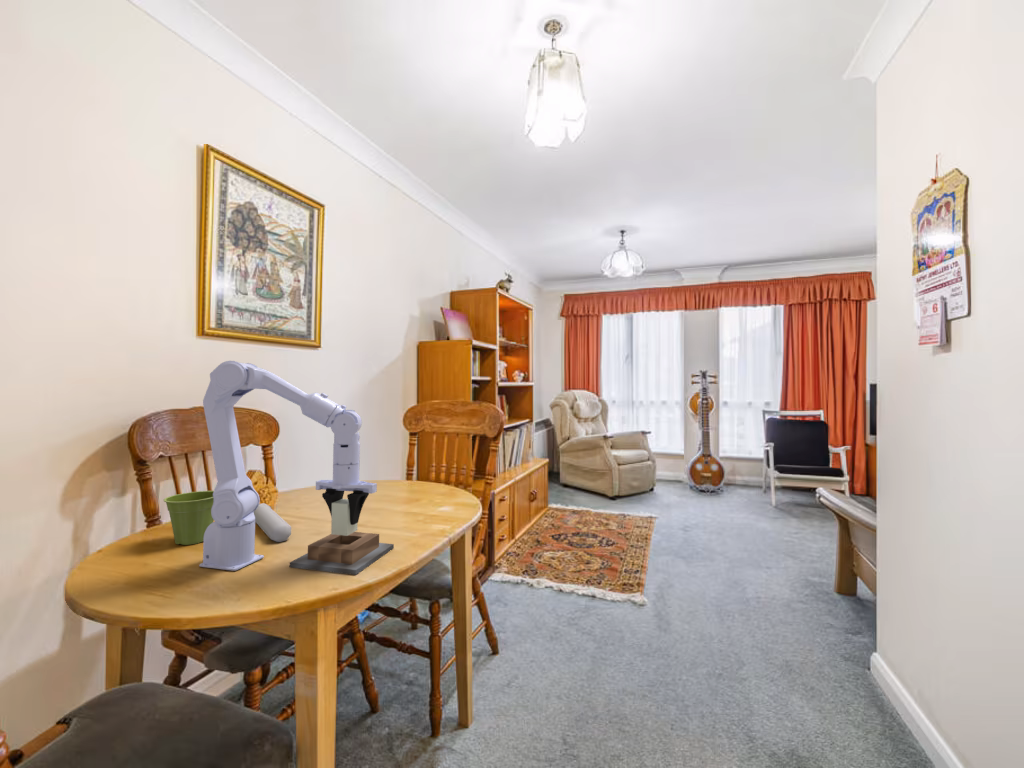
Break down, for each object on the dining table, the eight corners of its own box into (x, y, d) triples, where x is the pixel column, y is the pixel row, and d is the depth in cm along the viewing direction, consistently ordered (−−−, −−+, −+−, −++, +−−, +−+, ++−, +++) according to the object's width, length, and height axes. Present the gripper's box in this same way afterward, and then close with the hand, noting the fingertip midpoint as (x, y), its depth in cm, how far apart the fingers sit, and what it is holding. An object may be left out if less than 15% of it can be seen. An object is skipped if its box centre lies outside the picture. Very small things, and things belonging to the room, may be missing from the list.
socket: (289, 567, 94) (289, 548, 94) (335, 542, 110) (335, 526, 110) (356, 574, 91) (356, 555, 91) (393, 548, 106) (394, 531, 106)
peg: (331, 534, 99) (331, 503, 99) (342, 528, 103) (342, 498, 103) (347, 535, 98) (347, 504, 98) (357, 530, 102) (357, 499, 102)
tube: (297, 525, 112) (273, 504, 130) (276, 522, 108) (254, 501, 127) (290, 546, 110) (266, 522, 129) (267, 544, 107) (247, 520, 126)
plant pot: (208, 530, 118) (208, 488, 118) (229, 538, 112) (230, 494, 112) (154, 542, 108) (155, 497, 109) (174, 552, 102) (175, 504, 102)
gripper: (307, 464, 99) (306, 525, 98) (365, 467, 95) (364, 530, 95) (327, 459, 105) (326, 516, 105) (381, 462, 102) (381, 521, 102)
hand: (345, 522), depth 101 cm, fingers closed on peg, 4 cm apart
